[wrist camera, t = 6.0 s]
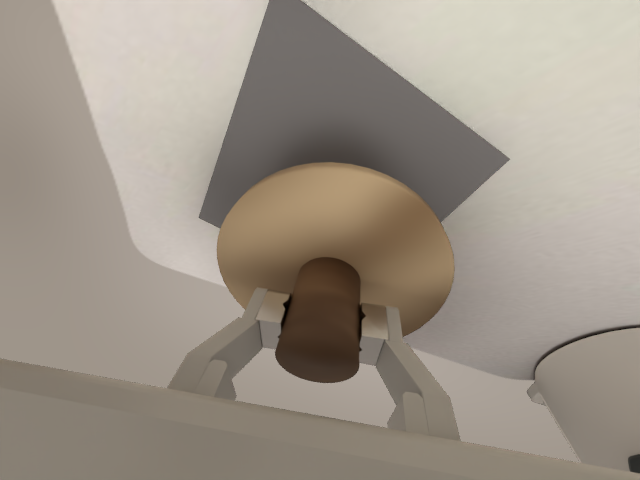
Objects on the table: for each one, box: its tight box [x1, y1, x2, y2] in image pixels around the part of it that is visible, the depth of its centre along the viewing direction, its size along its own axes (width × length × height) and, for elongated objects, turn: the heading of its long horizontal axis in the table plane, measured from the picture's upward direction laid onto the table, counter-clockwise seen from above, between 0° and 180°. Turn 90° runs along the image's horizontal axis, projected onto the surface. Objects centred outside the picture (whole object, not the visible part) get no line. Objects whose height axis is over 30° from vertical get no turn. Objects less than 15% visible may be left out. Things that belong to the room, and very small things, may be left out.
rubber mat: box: [199, 0, 510, 229], centre depth 19 cm, size 16×16×1 cm
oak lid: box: [217, 162, 454, 383], centre depth 11 cm, size 11×11×5 cm
